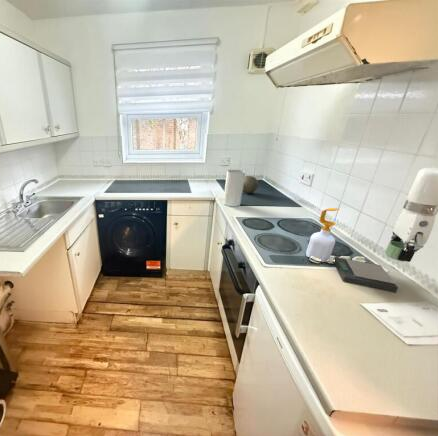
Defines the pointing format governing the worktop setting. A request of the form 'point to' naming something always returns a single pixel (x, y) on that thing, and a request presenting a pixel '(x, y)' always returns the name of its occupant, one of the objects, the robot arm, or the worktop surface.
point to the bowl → (394, 249)
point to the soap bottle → (322, 240)
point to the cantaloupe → (250, 184)
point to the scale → (364, 274)
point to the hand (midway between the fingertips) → (398, 254)
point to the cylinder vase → (233, 187)
